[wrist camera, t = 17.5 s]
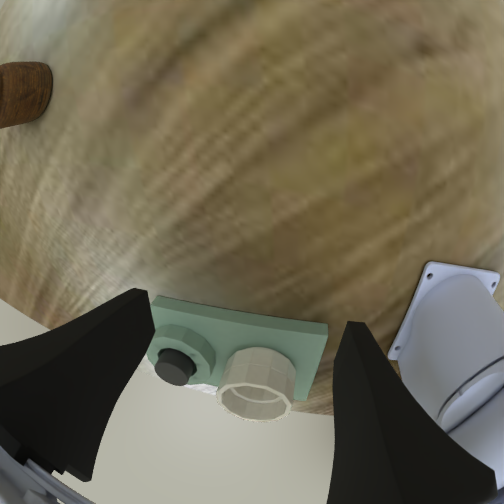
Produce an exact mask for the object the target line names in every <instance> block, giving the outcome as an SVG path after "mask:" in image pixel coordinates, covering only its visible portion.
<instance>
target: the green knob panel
mask: <svg viewBox="0 0 504 504" xmlns="http://www.w3.org/2000/svg"><path fill="white" fill-rule="evenodd" d="M150 306H151V311H152V316H153V321H154V325H155V330H156V332H155V334H154V336H153V339H152V341H151V343H150V346H149V348H148V350H147V352H146V353H147V357H148V360H149V361H150V362H151V363H152V364H153V366H154V367H155V364H156V362H157V361H158V359H159V357H160V355H161V354H162V352H163V351H164V350H165V349H167V348H172V349H176V350H180V351H181V352H183V353H184V354H186V355H188V356H189V357H190V358H191V359H192V360H193V361H194V364H195V367H194V370H193V372H192V374H191V376H190V379H189V381H188V383H187V384H188V385H193V384H203V383H204V384H208V385H213V386H217V387H218V386H219V383H220V380H221V378H222V375H223V372H224V369H225V366H226V364H227V361H228V359H229V358H230V357H231V356H232V355H233V354H234V353H236V352H237V351H239V350H243V349H246V348H250V347H265V348H269V349H273V350H275V351H277V352H279V353H281V354H283V355H284V356H285V357H286V358H288V359H289V360H290V361H291V363H292V365H293V366H294V368H295V370H296V377H295V387H294V395H293V400H301V401H306V399H307V396H308V393H309V391H310V388H311V385H312V383H313V380H314V377H315V374H316V371H317V369H318V366H319V363H320V360H321V357H322V354H323V351H324V348H325V345H326V341H327V338H328V324H325V323H316V322H308V321H301V320H293V319H286V318H279V317H272V316H265V315H259V314H252V313H246V312H240V311H234V310H228V309H223V308H217V307H212V306H206V305H201V304H196V303H191V302H186V301H181V300H176V299H171V298H166V297H162V296H157V297H156V298H155V300H154V301H153V302H152V303H151V305H150Z"/></svg>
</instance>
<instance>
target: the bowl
mask: <svg viewBox="0 0 504 504" xmlns="http://www.w3.org/2000/svg"><path fill="white" fill-rule="evenodd" d="M295 377H296V370H295V368H294V366H293V365H292V363H291V361H290V360H289V359H288V358H286V357H285V356H284V355H283V354H281V353H279V352H277V351H275V350H273V349H269V348H265V347H250V348H246V349H243V350H239V351H237V352H236V353H234V354H233V355H232V356H231V357H230V358H229V359H228V361H227V364H226V366H225V369H224V372H223V375H222V378H221V380H220V383H219V386H218V389H217V392H216V395H217V403H218V404H219V405H220V406H221V407H222V408H223V409H224V410H225V411H227V412H228V413H230V414H232V415H234V416H236V417H238V418H241V419H243V420H248V421H254V422H272V421H278V420H280V419H282V418H284V417H286V416H288V415H289V414H290V411H291V408H292V404H293V395H294V387H295Z"/></svg>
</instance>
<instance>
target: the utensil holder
mask: <svg viewBox="0 0 504 504" xmlns="http://www.w3.org/2000/svg"><path fill="white" fill-rule="evenodd" d="M51 87H52V76H51V72H50V69H49V68H48V66H47V65H46V64H44V63H41V62H10V63H5V64H2V65H0V128H6V127H10V126H15V125H19V124H23V123H27V122H31V121H33V120H35V119H37V118H38V117H39V116H40V115H41V114H42V112H43V111H44V109H45V107H46V105H47V103H48V100H49V97H50V93H51Z"/></svg>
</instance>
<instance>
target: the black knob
mask: <svg viewBox="0 0 504 504" xmlns="http://www.w3.org/2000/svg"><path fill="white" fill-rule="evenodd" d="M194 367H195V364H194V361H193V360H192V359H191V358H190V357H189V356H188V355H186V354H184V353H183V352H181V351H180V350H176V349H172V348H167V349H165V350H164V351H163V352H162V354H161V355H160V357H159V359H158V361H157V362H156V364H155V371H156V373H157V375H158V376H159V377H160V378H161V379H163V380H164V381H166V382H168V383H170V384H173V385H176V386H183V385H186V384H187V383H188V381H189V379H190V376H191V374H192V372H193V370H194Z"/></svg>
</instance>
